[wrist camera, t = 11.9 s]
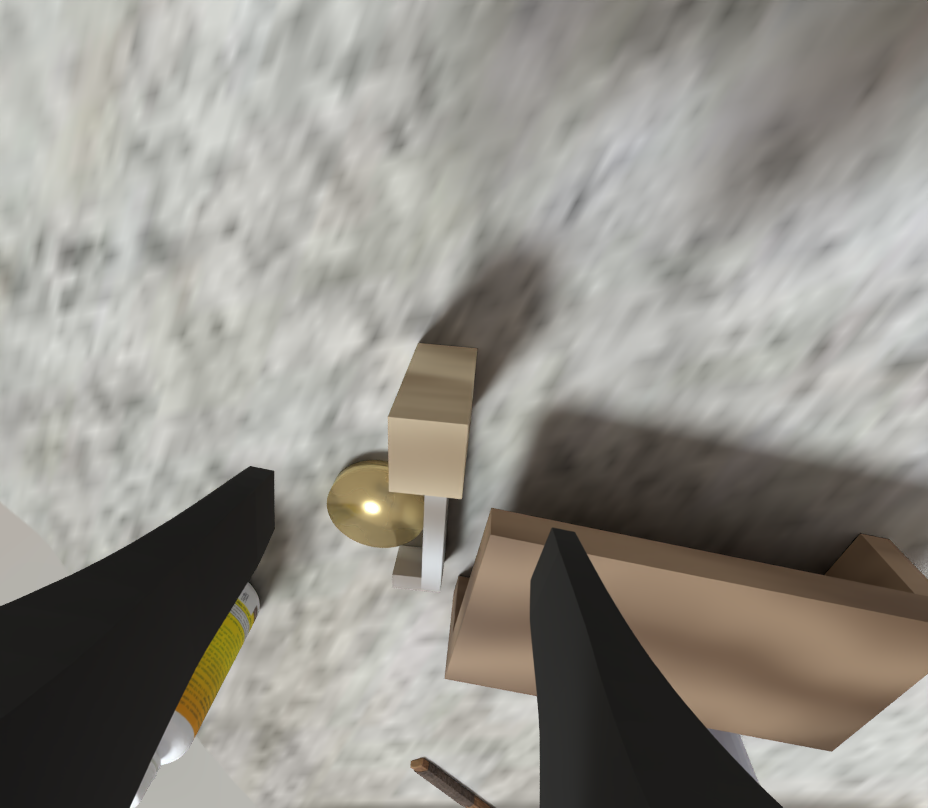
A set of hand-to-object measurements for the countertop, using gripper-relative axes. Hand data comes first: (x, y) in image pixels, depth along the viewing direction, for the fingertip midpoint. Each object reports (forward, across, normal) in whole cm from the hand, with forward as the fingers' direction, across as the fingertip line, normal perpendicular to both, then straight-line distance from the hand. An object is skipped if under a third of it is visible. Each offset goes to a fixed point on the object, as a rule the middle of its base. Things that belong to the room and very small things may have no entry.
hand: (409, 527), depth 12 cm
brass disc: (+10, +2, +8) cm, 13 cm away
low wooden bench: (+9, -13, +9) cm, 18 cm away
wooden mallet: (+9, 0, +5) cm, 11 cm away
